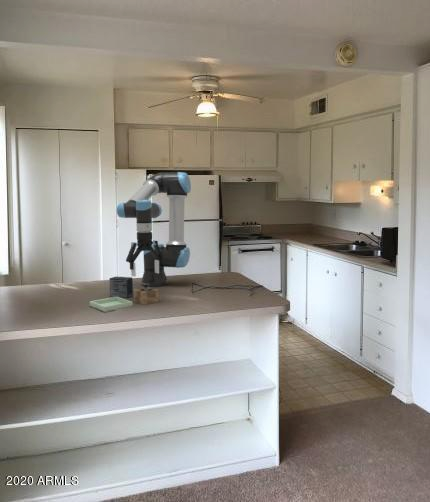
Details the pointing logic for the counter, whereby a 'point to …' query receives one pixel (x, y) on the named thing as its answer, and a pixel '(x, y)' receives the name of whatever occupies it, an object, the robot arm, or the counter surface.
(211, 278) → the counter surface
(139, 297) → the collar
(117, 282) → the small box
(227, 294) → the counter surface
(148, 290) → the dark grey knobbed stand
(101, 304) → the tray
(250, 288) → the counter surface
